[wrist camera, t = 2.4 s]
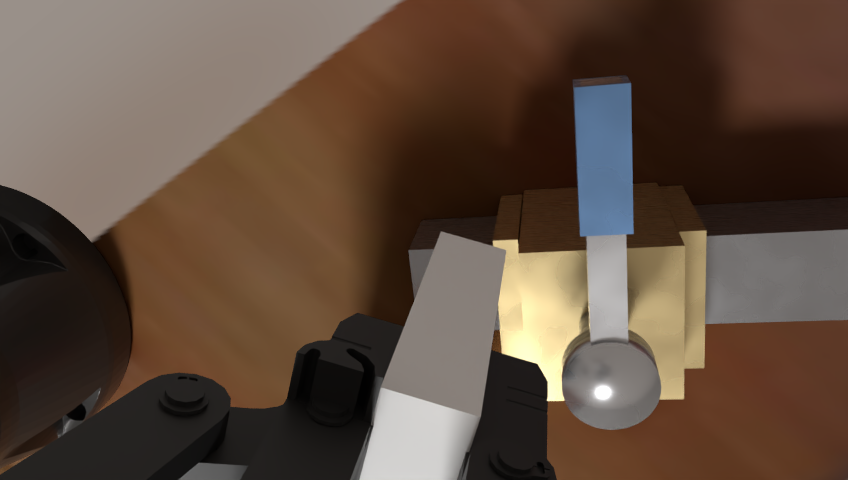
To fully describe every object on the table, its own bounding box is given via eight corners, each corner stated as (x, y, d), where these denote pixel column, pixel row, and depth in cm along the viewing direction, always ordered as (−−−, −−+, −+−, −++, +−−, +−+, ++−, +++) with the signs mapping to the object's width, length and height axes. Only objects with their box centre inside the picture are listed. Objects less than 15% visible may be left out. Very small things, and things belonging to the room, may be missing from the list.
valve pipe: (432, 316, 40) (394, 442, 30) (419, 196, 38) (373, 289, 28) (858, 303, 37) (975, 440, 27) (870, 169, 34) (1002, 264, 24)
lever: (563, 407, 28) (564, 429, 27) (546, 81, 24) (546, 90, 23) (656, 406, 28) (661, 429, 26) (653, 72, 24) (660, 80, 22)
